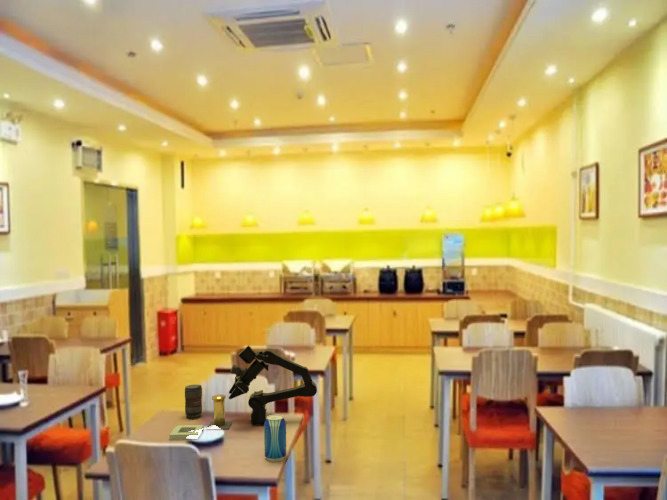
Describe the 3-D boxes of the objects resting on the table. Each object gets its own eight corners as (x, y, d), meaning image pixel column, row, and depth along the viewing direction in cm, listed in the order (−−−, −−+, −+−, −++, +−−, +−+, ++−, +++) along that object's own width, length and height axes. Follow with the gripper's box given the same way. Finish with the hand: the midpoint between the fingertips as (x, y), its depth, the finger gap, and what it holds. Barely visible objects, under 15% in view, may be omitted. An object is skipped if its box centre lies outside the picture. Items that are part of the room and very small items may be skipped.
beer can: (265, 454, 216) (264, 414, 215) (286, 453, 216) (285, 413, 216) (264, 462, 207) (263, 420, 207) (286, 461, 208) (285, 420, 208)
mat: (232, 422, 255) (232, 421, 255) (228, 429, 245) (228, 428, 245) (210, 422, 255) (210, 421, 255) (206, 429, 245) (206, 428, 245)
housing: (203, 430, 245) (203, 425, 245) (197, 439, 233) (197, 434, 233) (177, 430, 245) (176, 425, 245) (169, 439, 233) (169, 434, 233)
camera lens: (204, 414, 267) (204, 384, 267) (198, 419, 259) (198, 388, 259) (188, 414, 268) (188, 383, 268) (182, 419, 260) (182, 388, 260)
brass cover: (228, 422, 252) (227, 394, 252) (222, 427, 246) (221, 398, 246) (216, 422, 254) (215, 394, 253) (210, 426, 248) (209, 398, 248)
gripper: (240, 355, 261) (217, 379, 259) (241, 363, 242) (215, 389, 241) (257, 370, 262) (233, 394, 260) (259, 380, 244) (234, 406, 242)
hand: (229, 395), depth 251 cm, fingers open, 9 cm apart
